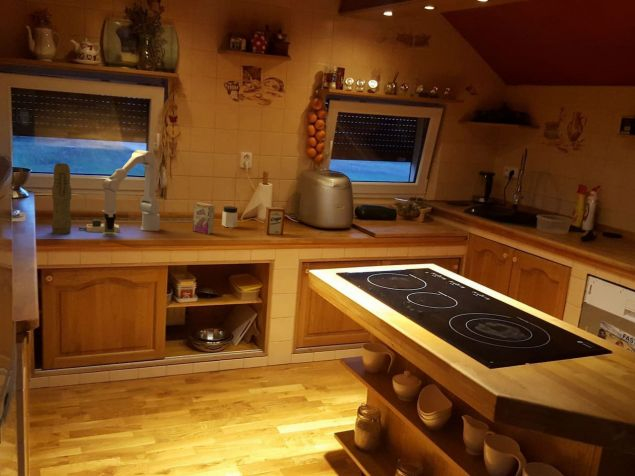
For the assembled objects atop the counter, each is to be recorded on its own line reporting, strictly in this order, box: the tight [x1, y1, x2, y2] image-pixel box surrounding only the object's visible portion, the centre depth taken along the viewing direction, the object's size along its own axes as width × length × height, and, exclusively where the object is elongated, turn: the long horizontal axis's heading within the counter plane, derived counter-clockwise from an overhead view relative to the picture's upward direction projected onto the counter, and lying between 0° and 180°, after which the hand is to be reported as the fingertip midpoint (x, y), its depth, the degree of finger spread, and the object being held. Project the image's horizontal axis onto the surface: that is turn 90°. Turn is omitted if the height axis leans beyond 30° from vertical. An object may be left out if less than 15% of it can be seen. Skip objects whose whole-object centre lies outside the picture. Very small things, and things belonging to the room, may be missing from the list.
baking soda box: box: [264, 206, 286, 236], centre depth 349 cm, size 10×6×16 cm
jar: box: [221, 205, 239, 228], centre depth 359 cm, size 9×8×12 cm
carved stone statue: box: [51, 162, 72, 235], centre depth 303 cm, size 9×12×35 cm
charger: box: [104, 218, 115, 233], centre depth 310 cm, size 4×4×6 cm
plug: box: [91, 218, 102, 226], centre depth 317 cm, size 4×4×3 cm
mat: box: [101, 232, 118, 237], centre depth 311 cm, size 7×7×1 cm
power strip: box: [78, 223, 120, 233], centre depth 318 cm, size 20×8×3 cm, turn 111°
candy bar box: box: [192, 201, 215, 235], centre depth 336 cm, size 11×5×16 cm, turn 59°
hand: (109, 228), depth 310 cm, fingers closed on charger, 4 cm apart
